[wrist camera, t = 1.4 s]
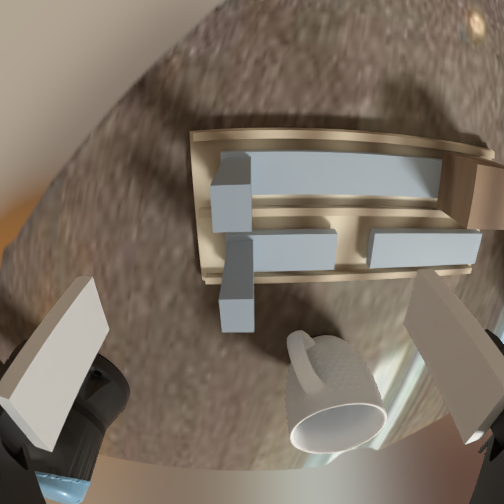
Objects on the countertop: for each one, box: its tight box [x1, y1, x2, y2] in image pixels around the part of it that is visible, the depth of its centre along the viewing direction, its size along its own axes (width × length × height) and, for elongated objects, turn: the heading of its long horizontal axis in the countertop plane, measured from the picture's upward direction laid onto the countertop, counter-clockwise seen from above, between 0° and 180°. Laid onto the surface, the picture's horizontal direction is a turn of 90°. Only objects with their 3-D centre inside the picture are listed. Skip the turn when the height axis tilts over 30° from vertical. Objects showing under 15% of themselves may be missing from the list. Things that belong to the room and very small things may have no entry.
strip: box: [210, 149, 442, 233], centre depth 24 cm, size 30×4×11 cm, turn 91°
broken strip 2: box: [366, 228, 482, 268], centre depth 32 cm, size 15×4×1 cm, turn 91°
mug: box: [285, 330, 387, 454], centre depth 35 cm, size 15×11×13 cm
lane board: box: [190, 128, 495, 284], centre depth 31 cm, size 34×16×2 cm, turn 91°
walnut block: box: [436, 152, 504, 230], centre depth 25 cm, size 6×6×6 cm
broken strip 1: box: [219, 229, 338, 332], centre depth 28 cm, size 11×4×11 cm, turn 91°
